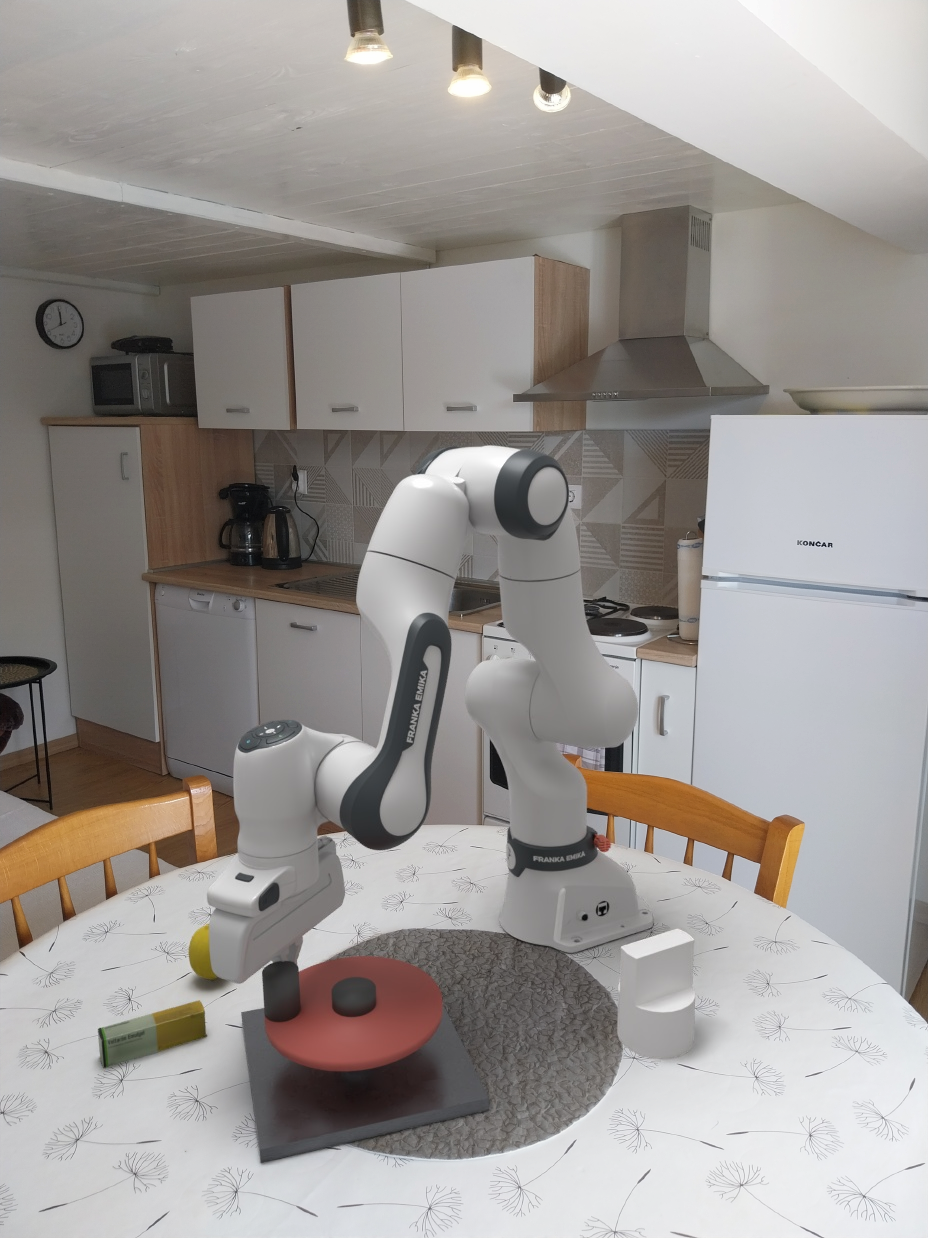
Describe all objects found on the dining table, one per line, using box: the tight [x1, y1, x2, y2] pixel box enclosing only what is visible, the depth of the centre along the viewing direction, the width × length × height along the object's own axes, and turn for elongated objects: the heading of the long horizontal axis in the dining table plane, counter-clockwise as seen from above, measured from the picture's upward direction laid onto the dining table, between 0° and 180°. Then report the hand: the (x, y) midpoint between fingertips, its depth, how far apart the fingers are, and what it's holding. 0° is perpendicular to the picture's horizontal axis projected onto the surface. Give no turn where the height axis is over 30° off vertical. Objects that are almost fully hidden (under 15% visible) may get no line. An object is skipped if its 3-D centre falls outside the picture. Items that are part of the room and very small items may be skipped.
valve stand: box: [240, 1004, 490, 1163], centre depth 109 cm, size 24×24×6 cm
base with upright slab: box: [616, 928, 696, 1060], centre depth 113 cm, size 9×9×12 cm
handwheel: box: [261, 955, 444, 1071], centre depth 108 cm, size 20×20×6 cm
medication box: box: [97, 1000, 208, 1069], centre depth 113 cm, size 12×3×4 cm, turn 119°
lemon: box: [188, 923, 219, 981], centre depth 126 cm, size 6×6×8 cm
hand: (286, 976), depth 110 cm, fingers closed
